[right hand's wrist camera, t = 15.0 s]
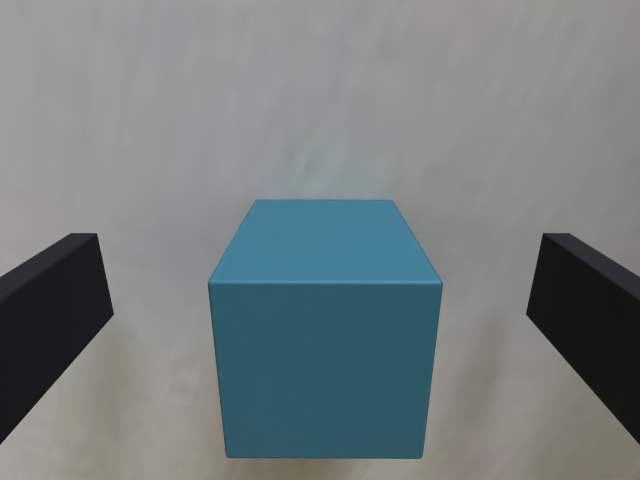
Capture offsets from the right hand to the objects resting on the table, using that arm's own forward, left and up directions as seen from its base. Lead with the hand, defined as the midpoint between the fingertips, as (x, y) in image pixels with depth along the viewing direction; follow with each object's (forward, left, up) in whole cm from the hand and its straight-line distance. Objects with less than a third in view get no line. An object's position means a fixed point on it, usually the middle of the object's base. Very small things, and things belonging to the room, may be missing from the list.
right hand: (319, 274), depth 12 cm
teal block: (0, 0, -2) cm, 2 cm away
